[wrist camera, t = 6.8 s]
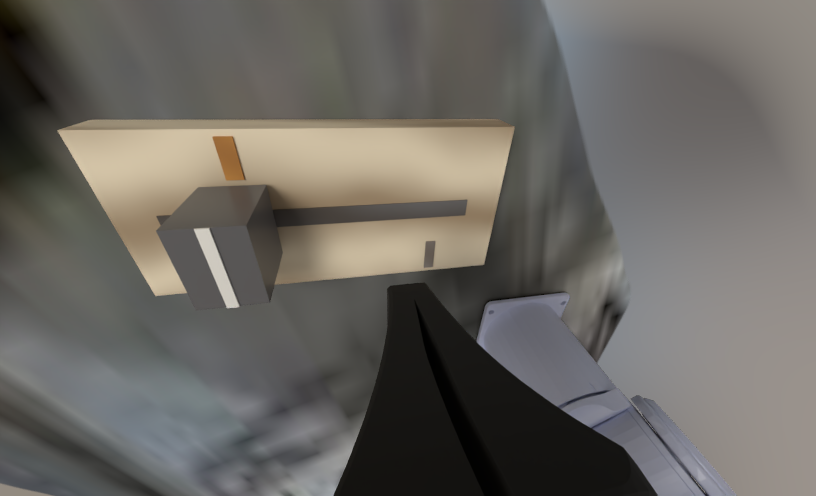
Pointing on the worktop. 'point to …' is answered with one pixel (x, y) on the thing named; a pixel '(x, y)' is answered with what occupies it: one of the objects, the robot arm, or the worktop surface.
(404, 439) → the robot arm
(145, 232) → the fader console
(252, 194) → the fader knob
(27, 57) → the worktop surface
